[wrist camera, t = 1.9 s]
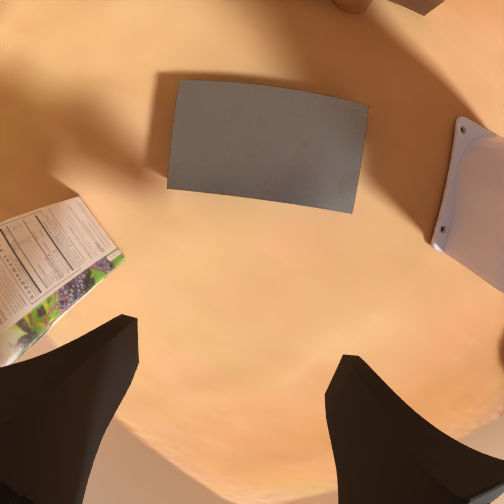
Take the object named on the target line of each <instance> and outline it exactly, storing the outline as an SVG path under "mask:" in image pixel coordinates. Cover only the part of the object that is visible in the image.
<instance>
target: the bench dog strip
mask: <svg viewBox="0 0 504 504" xmlns="http://www.w3.org/2000/svg"><path fill="white" fill-rule="evenodd" d="M333 1H334V3H335V4H336V5H337V6H338V7H339V8H340V9H342V10H344V11H346V12H349V13H361V12H363V11H364V10H365V9H366V8H367V7H368V5H369V4H370V3H371V2H372V0H333ZM389 1H392V2H394V3H397V4H399V5H402V6H404V7H406V8H408V9H411V10H413V11H415V12H417V13H419V14H422V15H426V14H427V13H428V12H430V11H431V10H433V9H434V8H435V7H437V6H438V5H440V4H441V3H442V2H444V0H389Z"/></svg>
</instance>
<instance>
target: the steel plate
mask: <svg viewBox="0 0 504 504" xmlns="http://www.w3.org/2000/svg"><path fill="white" fill-rule="evenodd" d="M368 109H369V106H368V105H364V104H360V103H356V102H352V101H348V100H344V99H340V98H335V97H331V96H326V95H321V94H316V93H311V92H305V91H299V90H293V89H287V88H280V87H273V86H265V85H257V84H248V83H237V82H223V81H205V80H179V87H178V93H177V100H176V107H175V114H174V122H173V130H172V138H171V148H170V157H169V168H168V180H167V189H175V190H185V191H195V192H204V193H213V194H221V195H230V196H238V197H246V198H254V199H261V200H268V201H275V202H282V203H289V204H296V205H302V206H309V207H315V208H321V209H327V210H333V211H339V212H345V213H350V214H352V212H353V207H354V202H355V197H356V191H357V186H358V180H359V174H360V168H361V161H362V155H363V148H364V141H365V133H366V126H367V117H368Z"/></svg>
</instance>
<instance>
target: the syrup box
mask: <svg viewBox="0 0 504 504" xmlns="http://www.w3.org/2000/svg"><path fill="white" fill-rule="evenodd" d="M124 260H125V257H124V255H123V254H122V253H121V251H120V250H119V249H118V248H117V246H116V245H115V244H114V242H113V241H112V240H111V238H110V237H109V236H108V234H107V233H106V232H105V230H104V229H103V228H102V226H101V225H100V224H99V222H98V221H97V220H96V218H95V217H94V216H93V214H92V213H91V212H90V210H89V209H88V208H87V206H86V205H85V203H84V202H83V201H82V199H81V198H80V197H79V196H77V197H74V198H70V199H67V200H63V201H61V202H57V203H54V204H50V205H47V206H44V207H41V208H38V209H35V210H32V211H29V212H26V213H23V214H20V215H17V216H15V217H12V218H9V219H7V220H4V221H2V222H0V367H3V366H7V365H11V364H13V363H14V362H15V361H16V360H17V359H19V358H20V356H22V355H23V354H24V353H25V352H26V351H27V350H28V349H29V348H30V347H31V346H33V345H34V344H35V342H37V340H39V339H40V338H41V337H42V336H43V335H44V334H45V333H46V332H47V331H48V330H49V329H50V328H51V327H52V326H53V325H54V324H55V323H56V322H57V321H58V320H60V319H61V318H62V317H63V316H64V315H65V314H66V313H67V312H68V311H69V310H70V309H71V308H72V307H73V306H74V305H76V304H77V303H78V302H79V301H80V300H81V299H82V298H83V297H84V296H86V295H87V294H88V293H89V292H90V291H91V290H92V289H93V288H95V287H96V286H97V285H98V284H99V283H100V282H101V281H102V280H103V279H104V278H105V277H107V276H108V275H109V274H110V273H111V272H112V271H113V270H114V269H115V268H116V267H117V266H118V265H120V264H121V263H122V262H123V261H124Z"/></svg>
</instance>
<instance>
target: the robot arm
mask: <svg viewBox="0 0 504 504" xmlns="http://www.w3.org/2000/svg"><path fill="white" fill-rule="evenodd" d="M461 128H462V129H463V133H462V132H461ZM442 226H443V230H442V231H440V230H441V227H442ZM431 245H432V247H433V248H434V249H436V250H438V251H442V252H444V253H446V254H447V255H449V256H450V257H452V258H453V259H455V260H456V261H458V262H459V263H461V264H462V265H464V266H465V267H466V268H468V269H469V270H471V271H472V272H474V273H475V274H476V275H478V276H479V277H481V278H482V279H483V280H485V281H486V282H487V283H489V284H490V285H492V286H493V287H495V288H496V289H498V290H499V291H501V292H503V293H504V138H500V137H498V136H497V135H495V134H493V133H492V132H490V131H488V130H487V129H485V128H483V127H482V126H480V125H478V124H477V123H475V122H473V121H471V120H469V119H468V118H466V117H463V116H460V117H458V118H457V120H456V126H455V134H454V141H453V148H452V154H451V160H450V166H449V171H448V176H447V181H446V186H445V191H444V195H443V199H442V204H441V208H440V212H439V216H438V219H437V223H436V227H435V230H434V234H433V237H432V241H431ZM138 363H139V355H138V325H137V318H134V317H130V316H127V315H123V314H121V315H119V316H117V317H115V318H113V319H112V320H110V321H108V322H106V323H105V324H103V325H101V326H99V327H97V328H96V329H94V330H92V331H90V332H88V333H87V334H85V335H83V336H81V337H79V338H77V339H75V340H73V341H71V342H69V343H67V344H65V345H63V346H61V347H59V348H57V349H55V350H53V351H50V352H48V353H46V354H43V355H40V356H37V357H34V358H32V359H29V360H26V361H23V362H19V363H15V364H11V365H7V366H3V367H0V504H82V502H83V498H84V494H85V490H86V485H87V482H88V478H89V475H90V472H91V469H92V465H93V462H94V459H95V456H96V453H97V451H98V448H99V445H100V442H101V440H102V437H103V435H104V433H105V431H106V429H107V427H108V425H109V423H110V421H111V420H112V418H113V416H114V414H115V412H116V410H117V408H118V407H119V405H120V403H121V401H122V399H123V397H124V396H125V394H126V392H127V390H128V388H129V386H130V384H131V382H132V379H133V377H134V374H135V371H136V369H137V366H138ZM325 409H326V420H327V425H328V430H329V435H330V440H331V444H332V449H333V454H334V459H335V464H336V471H337V479H338V500H339V501H338V504H490V503H491V502H492V501H494V500H495V499H496V498H498V497H499V496H500V495H501V494H502V493H503V492H504V460H501V459H498V458H495V457H492V456H489V455H486V454H483V453H481V452H478V451H476V450H474V449H472V448H470V447H467V446H466V445H464V444H462V443H460V442H458V441H456V440H455V439H453V438H451V437H450V436H448V435H446V434H445V433H443V432H441V431H440V430H439V429H437V428H436V427H434V426H433V425H432V424H430V423H429V422H428V421H426V420H425V419H424V418H422V417H421V416H420V415H419V414H417V413H416V412H415V411H414V410H413V409H412V408H411V407H410V406H408V405H407V404H406V403H405V402H404V401H403V400H402V399H401V398H400V397H399V396H398V395H397V394H396V393H395V392H394V391H393V390H392V389H391V388H390V387H389V386H388V385H387V384H386V383H385V382H384V381H383V380H382V379H381V378H380V377H379V376H378V375H377V374H376V373H375V372H374V371H373V370H372V369H371V368H370V366H369V365H368V364H367V363H366V362H365V361H364V360H362V359H361V358H360V357H359V356H354V355H343V356H342V358H341V360H340V363H339V365H338V367H337V369H336V372H335V374H334V376H333V378H332V380H331V382H330V384H329V387H328V389H327V391H326V393H325Z"/></svg>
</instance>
